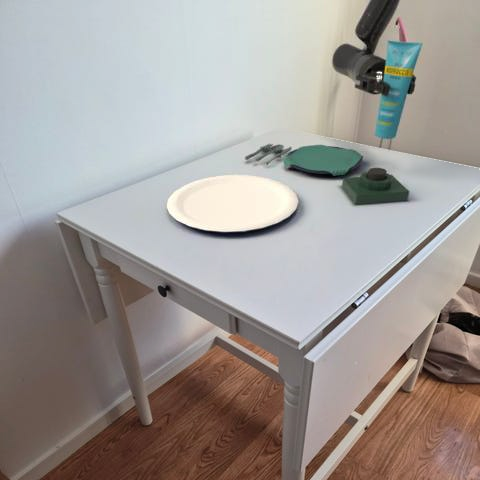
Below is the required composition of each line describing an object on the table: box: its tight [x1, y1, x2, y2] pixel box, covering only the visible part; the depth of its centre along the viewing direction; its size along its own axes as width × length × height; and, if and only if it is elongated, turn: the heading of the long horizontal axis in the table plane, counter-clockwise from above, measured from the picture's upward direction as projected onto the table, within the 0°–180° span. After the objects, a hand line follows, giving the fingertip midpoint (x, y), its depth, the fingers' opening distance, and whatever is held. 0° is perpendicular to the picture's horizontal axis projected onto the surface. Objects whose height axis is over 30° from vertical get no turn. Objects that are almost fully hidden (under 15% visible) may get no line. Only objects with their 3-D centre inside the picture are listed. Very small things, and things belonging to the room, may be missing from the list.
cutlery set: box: [244, 143, 364, 177], centre depth 114 cm, size 20×30×2 cm, turn 58°
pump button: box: [367, 167, 388, 181], centre depth 95 cm, size 4×4×2 cm
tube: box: [374, 39, 423, 140], centre depth 95 cm, size 7×5×19 cm, turn 57°
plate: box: [166, 174, 299, 234], centre depth 94 cm, size 29×29×2 cm
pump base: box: [341, 171, 410, 205], centre depth 97 cm, size 12×10×4 cm
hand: (399, 89), depth 93 cm, fingers closed on tube, 5 cm apart
